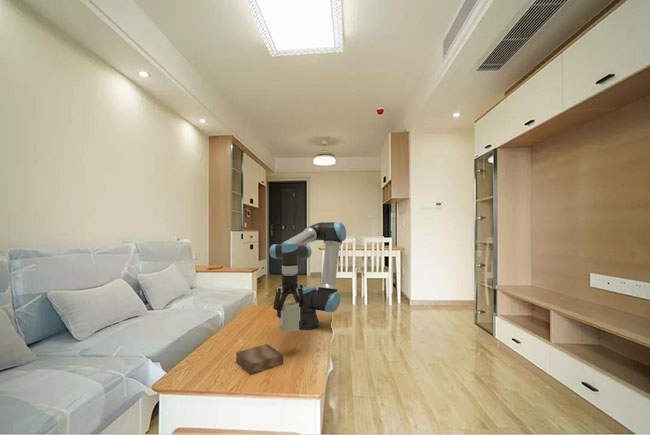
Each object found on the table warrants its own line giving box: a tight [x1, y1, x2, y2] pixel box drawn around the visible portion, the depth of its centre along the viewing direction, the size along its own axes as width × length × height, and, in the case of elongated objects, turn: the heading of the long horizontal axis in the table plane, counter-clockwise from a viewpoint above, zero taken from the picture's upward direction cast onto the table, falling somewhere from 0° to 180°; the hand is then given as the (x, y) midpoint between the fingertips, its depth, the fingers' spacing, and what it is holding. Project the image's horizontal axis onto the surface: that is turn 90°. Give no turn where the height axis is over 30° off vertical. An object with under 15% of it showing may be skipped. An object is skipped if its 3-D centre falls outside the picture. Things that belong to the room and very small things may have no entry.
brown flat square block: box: [235, 343, 284, 376], centre depth 122 cm, size 15×15×4 cm
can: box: [279, 301, 300, 333], centre depth 132 cm, size 9×9×12 cm
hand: (289, 322), depth 132 cm, fingers closed on can, 9 cm apart
